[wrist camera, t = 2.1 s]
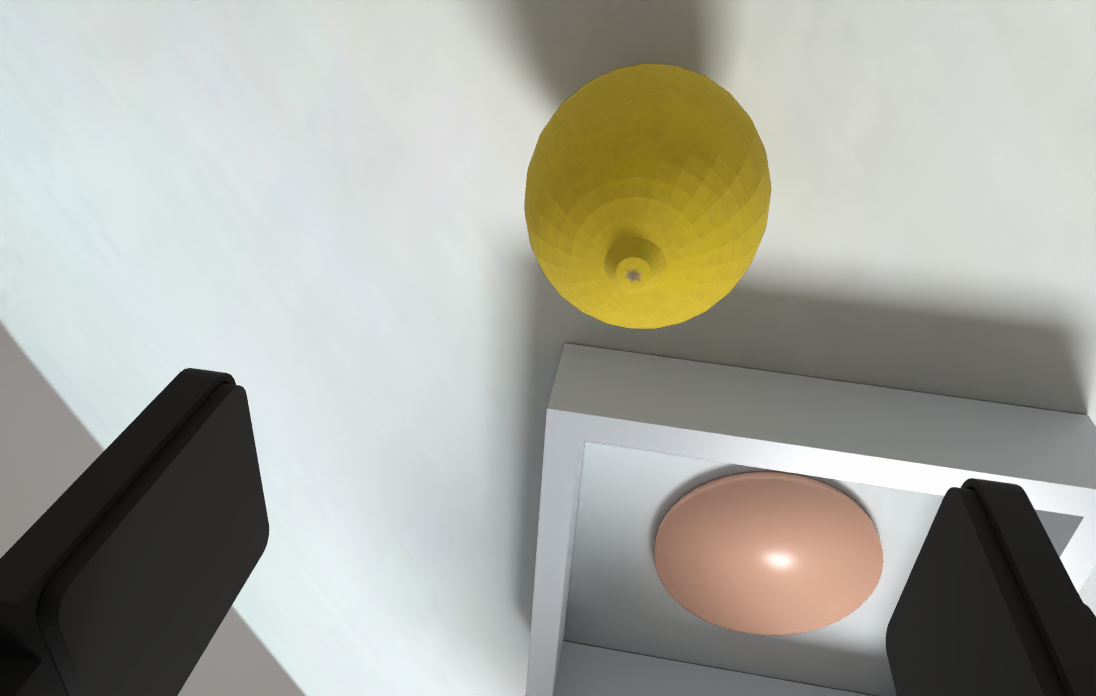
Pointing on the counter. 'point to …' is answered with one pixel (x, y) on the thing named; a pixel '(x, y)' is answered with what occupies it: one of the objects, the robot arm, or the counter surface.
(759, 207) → the lemon
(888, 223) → the counter surface
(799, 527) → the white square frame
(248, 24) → the counter surface
